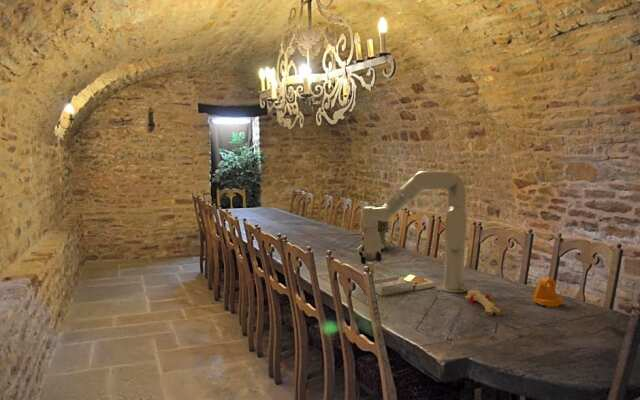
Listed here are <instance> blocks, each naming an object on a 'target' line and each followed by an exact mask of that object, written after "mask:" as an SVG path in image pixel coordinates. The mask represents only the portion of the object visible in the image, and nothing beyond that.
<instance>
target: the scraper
mask: <svg viewBox="0 0 640 400" xmlns="http://www.w3.org/2000/svg"><path fill="white" fill-rule="evenodd" d="M366 266H368V267H369V268H370V272H371V273H372V274H373V277H374V279H378V278H377V277H376V276H375V275H374V274H375V262H371V261H369V262H366V264H365V267H366Z"/></svg>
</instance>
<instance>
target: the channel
mask: <svg viewBox="0 0 640 400" xmlns="http://www.w3.org/2000/svg"><path fill="white" fill-rule="evenodd" d="M399 278H400V276H399V275H391V276H387V277H380V278H377V279H374V284H375V289H376V293H377V294H376V295H378V296H380V295H381V296H380V297H384V296H389V295H388V294H390V295H394V293H395V294H399V293H404V292H410V291H414V290H413V283H414V281H403V280H400V279H399ZM383 295H384V296H383Z"/></svg>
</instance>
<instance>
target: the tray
mask: <svg viewBox="0 0 640 400" xmlns="http://www.w3.org/2000/svg"><path fill="white" fill-rule="evenodd" d="M413 276H416V277H417V276H418V275H413ZM406 277H407V276H404V277H403V276H402V277H399V279H400V280H403V281H404V279H405V278H406ZM423 278H424V277H423ZM435 283H436V281H434V280H430V279H427V278H424V283H422V284H417V285H416V284H413V290H412V291H419V290H423V289H424V290H425V289H429V288H435V286H436V285H435Z"/></svg>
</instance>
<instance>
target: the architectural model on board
mask: <svg viewBox="0 0 640 400" xmlns="http://www.w3.org/2000/svg"><path fill="white" fill-rule="evenodd" d="M376 253H377V252H372V253H366V255H365V256H364V257H366V261H370V260H376Z"/></svg>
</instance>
